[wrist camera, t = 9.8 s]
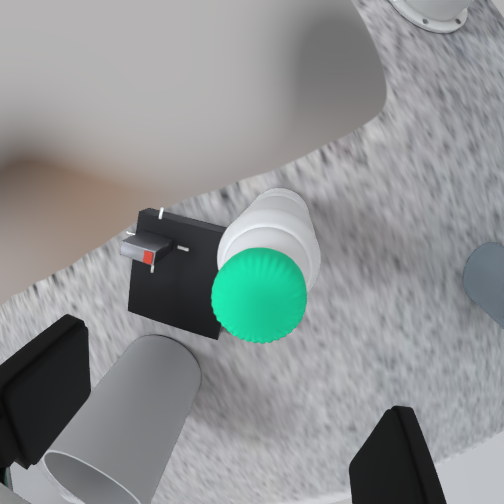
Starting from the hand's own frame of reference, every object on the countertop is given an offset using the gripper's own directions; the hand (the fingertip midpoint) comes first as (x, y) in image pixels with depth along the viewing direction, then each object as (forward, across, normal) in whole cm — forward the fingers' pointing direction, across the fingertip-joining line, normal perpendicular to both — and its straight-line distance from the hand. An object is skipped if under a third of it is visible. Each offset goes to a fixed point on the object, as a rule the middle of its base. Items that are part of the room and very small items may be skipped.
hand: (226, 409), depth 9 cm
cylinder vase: (+32, +11, +26) cm, 43 cm away
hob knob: (+29, +13, +6) cm, 32 cm away
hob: (+32, +10, +10) cm, 35 cm away
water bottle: (+32, 0, 0) cm, 32 cm away
